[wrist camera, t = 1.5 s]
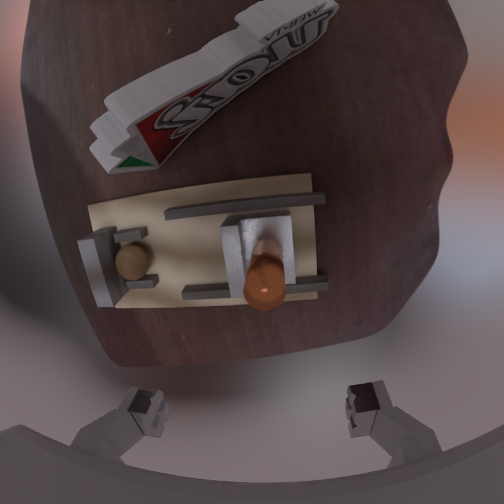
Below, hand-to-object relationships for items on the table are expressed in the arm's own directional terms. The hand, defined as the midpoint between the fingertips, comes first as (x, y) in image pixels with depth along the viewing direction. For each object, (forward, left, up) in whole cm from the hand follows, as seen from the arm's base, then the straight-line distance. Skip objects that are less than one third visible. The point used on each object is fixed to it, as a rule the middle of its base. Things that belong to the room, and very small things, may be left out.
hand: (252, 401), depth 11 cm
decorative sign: (-17, -2, -22) cm, 28 cm away
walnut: (0, -15, -19) cm, 24 cm away
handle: (0, -1, -20) cm, 20 cm away
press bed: (0, -8, -22) cm, 23 cm away
